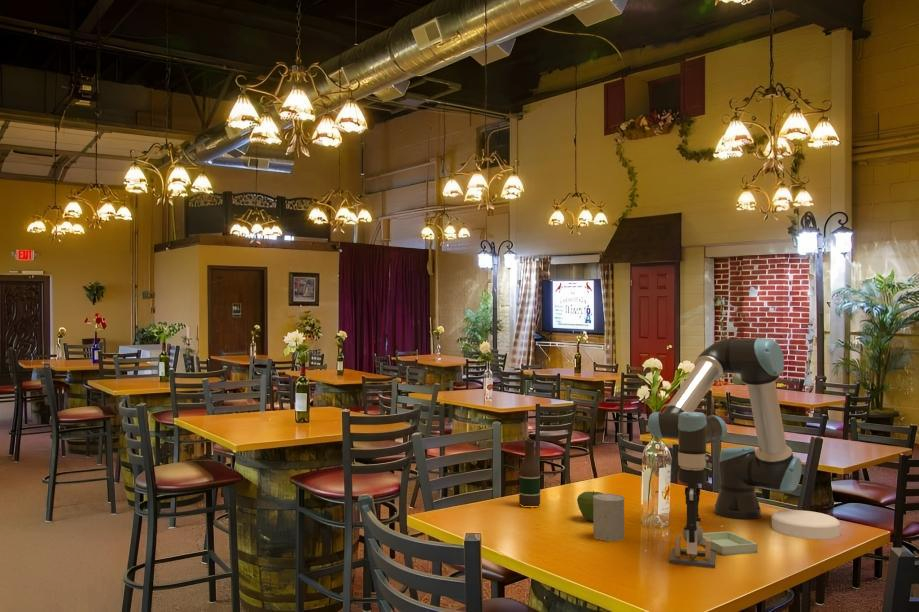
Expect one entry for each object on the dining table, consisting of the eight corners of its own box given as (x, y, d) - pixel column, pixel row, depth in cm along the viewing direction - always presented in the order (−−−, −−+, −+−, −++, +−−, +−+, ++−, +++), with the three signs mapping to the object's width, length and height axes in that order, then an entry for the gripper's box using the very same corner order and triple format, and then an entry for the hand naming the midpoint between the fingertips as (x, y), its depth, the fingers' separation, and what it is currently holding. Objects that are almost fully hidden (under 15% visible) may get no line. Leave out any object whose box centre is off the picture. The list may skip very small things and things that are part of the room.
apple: (613, 518, 249) (613, 489, 250) (604, 525, 240) (604, 495, 240) (582, 514, 254) (582, 485, 255) (572, 521, 245) (572, 491, 245)
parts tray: (695, 542, 222) (695, 533, 222) (729, 539, 225) (729, 531, 225) (722, 555, 209) (722, 546, 209) (757, 552, 211) (757, 543, 212)
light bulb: (704, 563, 202) (704, 526, 202) (683, 561, 203) (683, 525, 203) (701, 557, 207) (701, 521, 207) (681, 555, 208) (681, 520, 208)
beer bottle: (517, 503, 270) (517, 438, 271) (537, 503, 271) (537, 438, 272) (521, 508, 263) (521, 441, 263) (542, 508, 263) (542, 441, 264)
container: (844, 543, 222) (844, 527, 223) (773, 536, 229) (773, 521, 229) (835, 526, 241) (835, 512, 241) (770, 521, 248) (769, 507, 248)
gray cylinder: (601, 531, 233) (600, 492, 234) (629, 536, 228) (629, 496, 228) (587, 538, 226) (587, 497, 226) (617, 543, 220) (616, 502, 220)
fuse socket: (668, 563, 201) (668, 541, 202) (672, 551, 213) (672, 530, 213) (715, 568, 197) (714, 545, 197) (716, 555, 208) (715, 534, 209)
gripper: (705, 475, 195) (705, 561, 194) (707, 462, 214) (708, 540, 213) (675, 473, 197) (676, 558, 196) (680, 460, 217) (681, 537, 216)
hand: (692, 549), depth 205 cm, fingers open, 8 cm apart
